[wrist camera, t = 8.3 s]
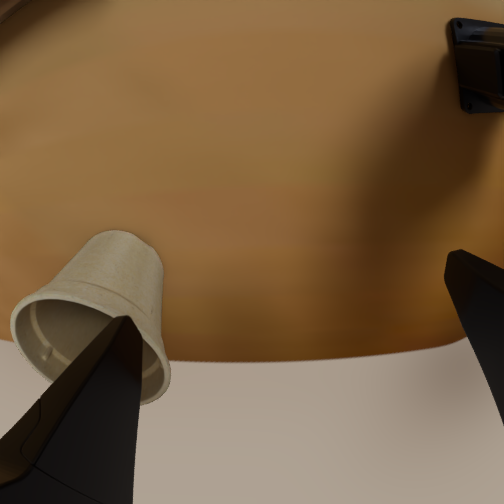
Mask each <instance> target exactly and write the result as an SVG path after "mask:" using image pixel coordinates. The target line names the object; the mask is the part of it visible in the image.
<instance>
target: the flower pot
mask: <svg viewBox="0 0 504 504" xmlns="http://www.w3.org/2000/svg"><path fill="white" fill-rule="evenodd" d="M163 278H164V271H163V266H162V263H161V260H160V258H159V256H158V254H157V253H156V251H155V250H154V249H153V248H152V247H151V246H149V245H147V244H146V243H144V242H143V241H141V240H140V239H139V238H138V237H136V236H135V235H134V234H131V233H128V232H124V231H118V230H112V231H105V232H102V233H99V234H97V235H95V236H94V237H92V238H91V239H90V240H89V241H88V242H87V243H86V244H85V245H84V246H83V248H82V249H81V250H80V251H79V252H78V253H77V254H76V255H75V256H74V257H73V258H72V259H71V260H70V261H69V262H68V263H67V265H66V266H65V267H64V268H63V269H62V270H61V271H60V272H59V273H58V274H57V275H56V276H55V277H54V279H53V280H52V281H51V282H50V283H49V284H47V285H45V286H43V287H41V288H40V289H39V290H37V291H36V292H35V293H34V294H31V295H28V296H26V297H25V298H23V299H22V300H21V301H20V302H19V303H18V304H17V306H16V307H15V309H14V310H13V312H12V315H11V320H10V324H11V326H10V330H11V333H12V337H13V340H14V342H15V344H16V346H17V348H18V350H19V351H20V353H21V355H22V356H23V357H24V358H25V360H26V361H27V362H28V363H29V364H30V365H31V366H32V368H33V369H34V370H35V371H36V372H37V373H39V374H40V375H41V376H42V377H43V378H45V379H46V380H47V381H49V382H50V383H53V382H54V381H55V380H56V379H57V378H58V377H59V376H60V374H61V373H62V372H63V371H64V370H65V369H66V368H67V367H68V366H69V365H70V364H71V363H72V362H73V360H74V359H75V358H76V357H77V356H78V355H79V354H80V353H81V352H82V351H83V350H84V349H85V348H86V347H87V346H88V344H89V343H90V342H91V341H92V340H93V339H94V338H95V337H96V336H97V335H98V334H99V333H100V332H101V331H102V330H103V329H104V328H105V327H106V326H107V325H108V324H109V323H110V322H111V321H112V320H113V319H114V318H115V317H116V316H122V315H129V316H130V317H131V318H132V320H133V321H134V323H135V325H136V326H137V328H138V330H139V331H140V333H141V335H142V338H143V360H142V391H141V400H140V405H144V404H148V403H150V402H153V401H155V400H156V399H158V398H160V397H161V396H162V395H163V394H164V393H165V392H166V390H167V389H168V387H169V384H170V378H171V368H170V364H169V361H168V358H167V356H166V354H165V349H164V344H163V341H162V338H161V316H162V293H163Z"/></svg>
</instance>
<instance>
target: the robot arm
mask: <svg viewBox="0 0 504 504" xmlns="http://www.w3.org/2000/svg"><path fill="white" fill-rule="evenodd" d="M457 22H458V24H459V28H458V27H457ZM450 26H451V31H452V37H453V43H454V50H455V57H456V65H457V73H458V82H459V90H460V102H461V109H462V110H463V111H464V112H466V113H469V114H473V113H490V112H504V24H499V23H493V22H487V21H481V20H474V19H466V18H452V19H451V21H450ZM468 103H469V107H468V108H467V104H468ZM444 281H445V284H446V286H447V289H448V291H449V294H450V296H451V299H452V301H453V304H454V306H455V309H456V311H457V314H458V316H459V319H460V322H461V324H462V326H463V329H464V331H465V333H466V335H467V337H468V339H469V341H470V343H471V345H472V348H473V350H474V352H475V354H476V356H477V359H478V361H479V363H480V366H481V368H482V370H483V373H484V375H485V377H486V380H487V382H488V385H489V387H490V390H491V392H492V395H493V397H494V400H495V402H496V405H497V408H498V411H499V413H500V416H501V419H502V422H503V424H504V269H502V268H500V267H498V266H496V265H494V264H492V263H490V262H488V261H486V260H484V259H481V258H479V257H477V256H475V255H473V254H471V253H469V252H467V251H464V250H462V249H459V250H455V251H451V252H449V254H448V256H447V262H446V267H445V273H444ZM142 360H143V338H142V335H141V333H140V331H139V330H138V328H137V326H136V325H135V323H134V321H133V320H132V318H131V317H130V316H129V315H122V316H116V317H115V318H114V319H113V320H112V321H111V322H110V323H109V324H108V325H107V326H106V327H105V328H104V329H103V330H102V331H101V332H100V333H99V334H98V335H97V336H96V337H95V338H94V339H93V340H92V341H91V342H90V343H89V344H88V346H87V347H86V348H85V349H84V350H83V351H82V352H81V353H80V354H79V355H78V356H77V357H76V358H75V359H74V360H73V362H72V363H71V364H70V365H69V366H68V367H67V368H66V369H65V370H64V371H63V372H62V373H61V374H60V376H59V377H58V378H57V379H56V380H55V381H54V382H53V383H52V384H51V385H50V387H49V388H48V389H47V390H46V391H45V392H44V393H43V394H42V395H41V397H40V399H38V400H37V401H36V402H35V403H34V405H33V406H32V407H31V408H30V409H29V410H28V411H27V412H26V413H25V415H24V416H23V417H22V418H21V419H20V420H19V421H18V422H17V423H16V424H15V425H14V426H13V427H12V428H11V429H10V430H9V431H8V432H7V433H6V434H5V435H4V436H3V437H2V438H1V439H0V504H133V484H134V483H133V482H134V467H135V453H136V440H137V428H138V419H139V409H140V400H141V391H142Z"/></svg>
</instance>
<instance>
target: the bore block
mask: <svg viewBox="0 0 504 504" xmlns="http://www.w3.org/2000/svg"><path fill="white" fill-rule="evenodd" d="M30 1H31V0H0V23H2V22H3V21H4V20H5V19H7V18H8V17H9V16H10V15H12V14H13V13H14V12H16V11H17V10H18V9H20V8H21V7H23V6H24V5H25V4H27V3H28V2H30Z"/></svg>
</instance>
